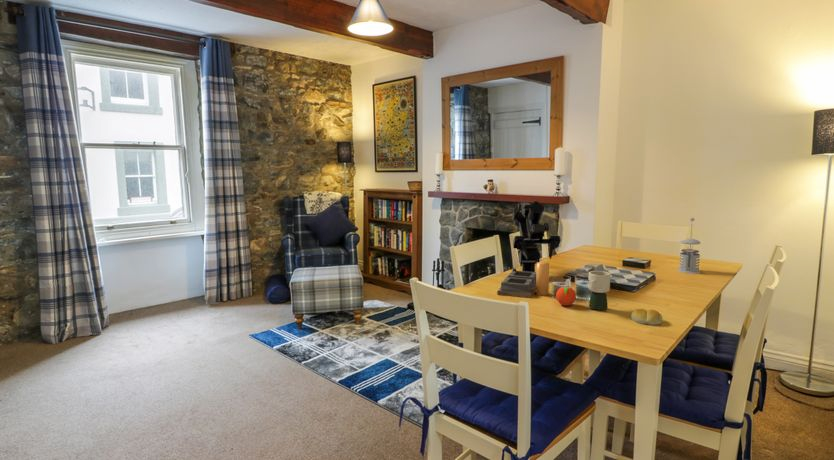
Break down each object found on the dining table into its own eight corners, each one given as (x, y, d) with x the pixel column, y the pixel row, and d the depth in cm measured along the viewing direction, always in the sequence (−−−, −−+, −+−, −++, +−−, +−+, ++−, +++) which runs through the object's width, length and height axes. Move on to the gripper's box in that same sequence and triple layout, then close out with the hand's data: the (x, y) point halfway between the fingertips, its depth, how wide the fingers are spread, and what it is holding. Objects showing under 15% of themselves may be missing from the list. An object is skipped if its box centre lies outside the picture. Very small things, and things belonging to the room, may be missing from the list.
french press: (701, 270, 217) (705, 217, 214) (700, 275, 208) (704, 219, 204) (677, 267, 223) (680, 216, 219) (675, 272, 213) (679, 218, 210)
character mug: (595, 303, 170) (596, 268, 168) (614, 307, 165) (616, 271, 163) (581, 310, 163) (582, 274, 161) (601, 314, 158) (602, 277, 156)
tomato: (575, 309, 163) (576, 290, 162) (554, 308, 166) (555, 288, 165) (576, 303, 171) (576, 284, 170) (556, 301, 173) (556, 283, 172)
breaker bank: (510, 279, 207) (510, 267, 206) (540, 282, 202) (540, 269, 201) (497, 294, 184) (497, 281, 183) (530, 297, 179) (530, 283, 178)
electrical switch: (601, 290, 187) (599, 268, 186) (588, 290, 190) (586, 267, 189) (608, 285, 194) (607, 264, 193) (595, 285, 197) (594, 263, 196)
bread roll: (633, 315, 157) (633, 304, 156) (662, 320, 152) (663, 308, 151) (629, 322, 150) (629, 310, 149) (660, 327, 145) (660, 315, 144)
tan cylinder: (537, 291, 187) (537, 261, 185) (549, 293, 185) (549, 262, 183) (535, 295, 182) (535, 264, 181) (547, 296, 180) (548, 264, 179)
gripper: (514, 216, 192) (518, 247, 183) (560, 216, 191) (566, 247, 182) (511, 232, 201) (515, 263, 192) (555, 232, 200) (561, 262, 191)
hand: (539, 258), depth 189 cm, fingers open, 9 cm apart
